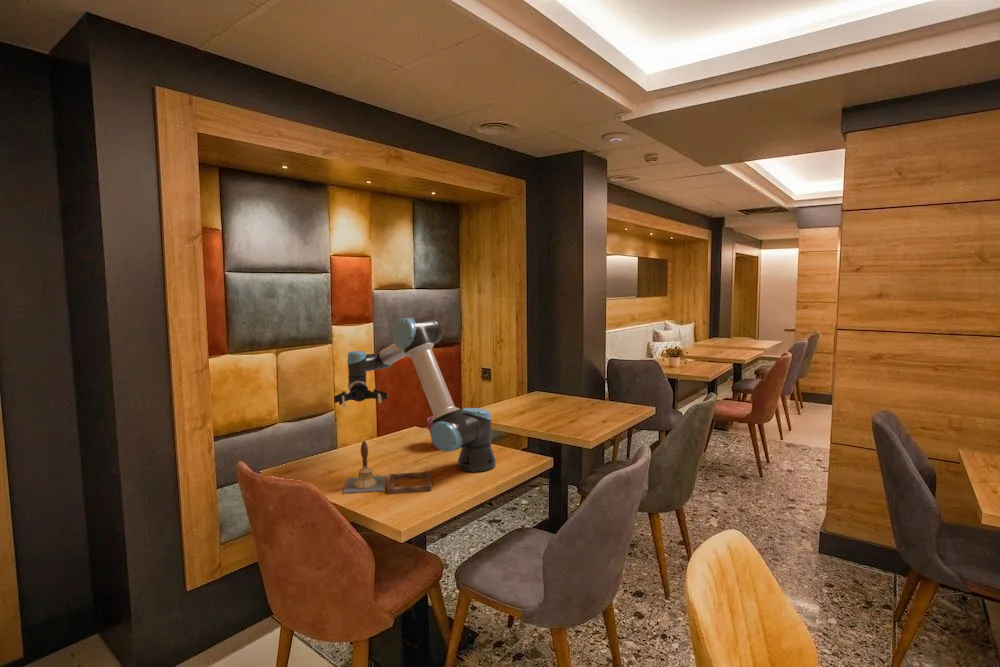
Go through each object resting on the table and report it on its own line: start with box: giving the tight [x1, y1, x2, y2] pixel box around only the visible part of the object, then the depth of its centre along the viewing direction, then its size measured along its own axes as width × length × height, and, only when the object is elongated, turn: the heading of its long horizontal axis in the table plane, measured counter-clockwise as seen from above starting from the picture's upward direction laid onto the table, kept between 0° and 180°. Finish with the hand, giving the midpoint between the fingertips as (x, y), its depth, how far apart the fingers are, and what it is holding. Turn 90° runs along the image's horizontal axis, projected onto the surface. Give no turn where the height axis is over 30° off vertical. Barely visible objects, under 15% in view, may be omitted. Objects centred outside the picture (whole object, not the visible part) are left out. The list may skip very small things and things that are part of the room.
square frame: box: [387, 471, 432, 494], centre depth 186 cm, size 15×15×2 cm
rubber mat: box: [342, 475, 388, 494], centre depth 185 cm, size 14×14×1 cm
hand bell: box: [354, 440, 377, 489], centre depth 184 cm, size 8×8×16 cm
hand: (362, 401), depth 195 cm, fingers open, 13 cm apart
